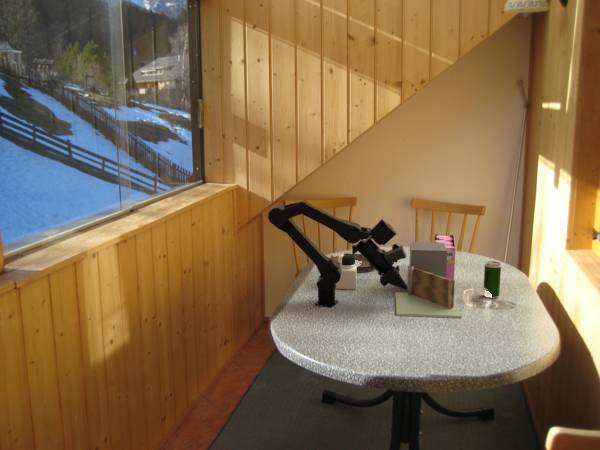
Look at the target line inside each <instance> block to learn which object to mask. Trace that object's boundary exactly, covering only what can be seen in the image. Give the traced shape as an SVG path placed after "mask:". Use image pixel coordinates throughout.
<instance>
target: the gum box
mask: <svg viewBox="0 0 600 450" xmlns="http://www.w3.org/2000/svg"><path fill="white" fill-rule="evenodd" d="M433 243H444V244H445V247H446V249H447V265H446V278H448V279H451V280H454V281H455V268H456V267H455V265H456V264H455V263H456V244H455V236H454V234H450V235H449V236H448V235H439V234H438V233H437V234H434V239H433Z"/></svg>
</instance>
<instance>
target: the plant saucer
mask: <svg viewBox="0 0 600 450" xmlns="http://www.w3.org/2000/svg"><path fill="white" fill-rule="evenodd" d="M353 255H354V256H355V260H358V261H362V263H360V264H361V265H360V266H358V267H357V273H367V272H371V271H373V270H376V269H375V268H374V267H373V266H370V265H369V262H368V261H367V260H366V259H365V258H364V257H363V256H362V254H361V253H355V254H353ZM338 256H339V255H337V256H334V258H335V259H336V261H337V262H338ZM366 271H367V272H366Z"/></svg>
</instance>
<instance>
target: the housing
mask: <svg viewBox="0 0 600 450" xmlns="http://www.w3.org/2000/svg"><path fill="white" fill-rule="evenodd" d="M446 265H447V249H446V247H445V244H444V243H434V242H428V241H427V242H424V241H423V242H422V241H421V242H420V241H418V242H416V241H410V242H409V264H408V267H407V289H406V290H407V292H396V291H395V311H396V316H398V317H425V318H426V317H427V318H452V319H461V318H463V317H462V313H461V309H460V308H459V304H458V301H457V299H456V295H455V294H454V307H453V308H448V307H446V306H443V305H441V304H438V303H435V302H433V301H430V300H428V299H425V298H422V297H420V296H417V295H414V294H413V271H414V268H417V269H420V270H424V271H427V272H430V273H433V274H436V275H439V276H442V277H445V278H446Z"/></svg>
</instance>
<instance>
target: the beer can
mask: <svg viewBox="0 0 600 450" xmlns="http://www.w3.org/2000/svg"><path fill="white" fill-rule="evenodd" d="M483 270H484V271H483V273H484V274H483V288H482V289H483V290H486V291H489V292H490V293H491V294H492V300H494V299H495V300H497V299H498V298H499V297H500V292H501V275H502V274H501V273H502V265H501V262H500V261H496V260H494V261H493V260H487V261H485V264H484V269H483Z"/></svg>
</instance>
